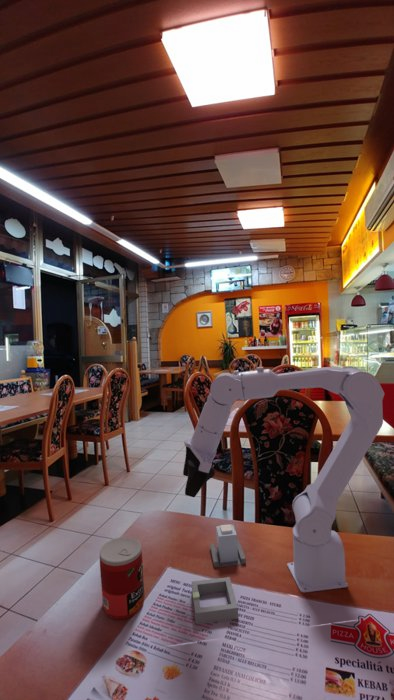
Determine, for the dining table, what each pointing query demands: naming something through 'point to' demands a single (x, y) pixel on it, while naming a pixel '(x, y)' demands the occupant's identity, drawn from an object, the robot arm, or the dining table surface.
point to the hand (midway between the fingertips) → (188, 484)
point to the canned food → (122, 577)
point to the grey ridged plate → (217, 562)
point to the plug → (227, 543)
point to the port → (214, 611)
